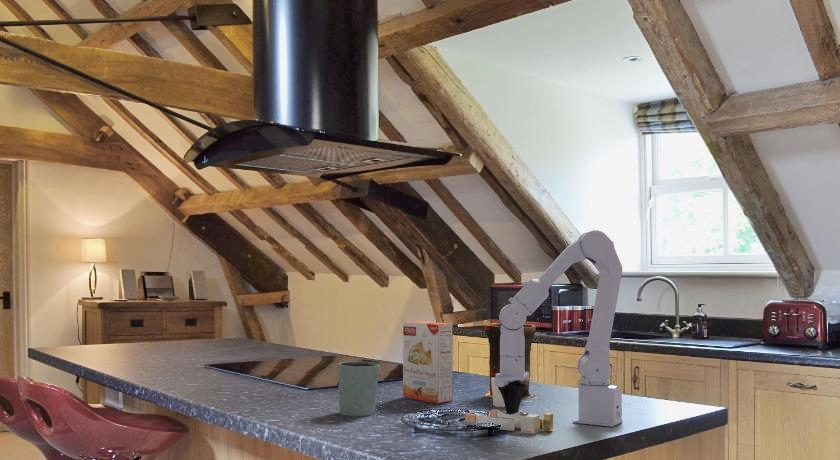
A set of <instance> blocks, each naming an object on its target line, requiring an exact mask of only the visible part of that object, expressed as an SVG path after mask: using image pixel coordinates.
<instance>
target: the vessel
mask: <svg viewBox="0 0 840 460" xmlns="http://www.w3.org/2000/svg"><path fill="white" fill-rule="evenodd" d="M501 325H502V323H501V322H500V323H499V322H492V323H487V324H485V326H484V329H483V330H484V333H485V335H486V337H487V341H488V344H489V345H488V346H489V355H488V358H489V360H488V364H489V365H488V366H489V367H488V368H489V375H488V376H489V390H488V393H485V397H490V398H493V395H492V384H491V378H493V377H496V374H497V373H500V335H501V332H500V329H501ZM523 326H524V337H525V372H529V380H524V381H520V383H526V384H527V387H526V389H525V391H524V393H523V395H522V398H521V400H523V399H524V400H525V399H530V398H533V397H535V396H536V394H533V393H530V381H531V380H530V378H531V352H532V351H531V350H532V343H533V338H534V336H535V334H536V331H537V328H536V324H527V323H525V324H524V325H523Z"/></svg>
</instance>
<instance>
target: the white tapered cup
mask: <svg viewBox="0 0 840 460" xmlns="http://www.w3.org/2000/svg"><path fill="white" fill-rule="evenodd" d="M494 378H496V377H493V378H491V384H492V395H493V397H492V405H493V406H494V407H499V408H505V404H504V400H503V397H502V395H501V392H500V391H499V389H498V387H496V386H494Z"/></svg>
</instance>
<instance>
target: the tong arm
mask: <svg viewBox="0 0 840 460" xmlns="http://www.w3.org/2000/svg"><path fill="white" fill-rule="evenodd" d="M510 415H511V414H510V413H507V412H506V411H502V410H499V409H494V408H493V409H490V410H489V416H493V417H502V418H511V417H510ZM511 419H514V428H516V429H520V430H521V419H519V418H511Z"/></svg>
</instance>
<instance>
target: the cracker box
mask: <svg viewBox="0 0 840 460" xmlns="http://www.w3.org/2000/svg"><path fill="white" fill-rule="evenodd" d="M402 324H403V326H402V328H403V329H402V330H403V331H402V334H403V335H402V336H403V337H402V338H403V339H402V341H403V343H402V344H403V345H402V347H403V348H402V397H403V398H406V399H410V400H411V399H412V400H417V401H423V402H428V403H432V404H439V405H440V404H445V403H449V402H450V403H451V402H453V385H454V383H453V380H454V379H453V373H454V372H453V370H454V369H453V367H454V365H453V363H454V362H453V357H454V356H453V355H454V354H453V353H454V352H453V351H454V350H453V349H454V347H453V346H454V345H453V341H454V340H453V339H454V338H453V336H454V332H453V331H454V330H453V329H454V325H453V323H447V322H438V321H437V322H436V321H425V320H407V321H403V323H402Z"/></svg>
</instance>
